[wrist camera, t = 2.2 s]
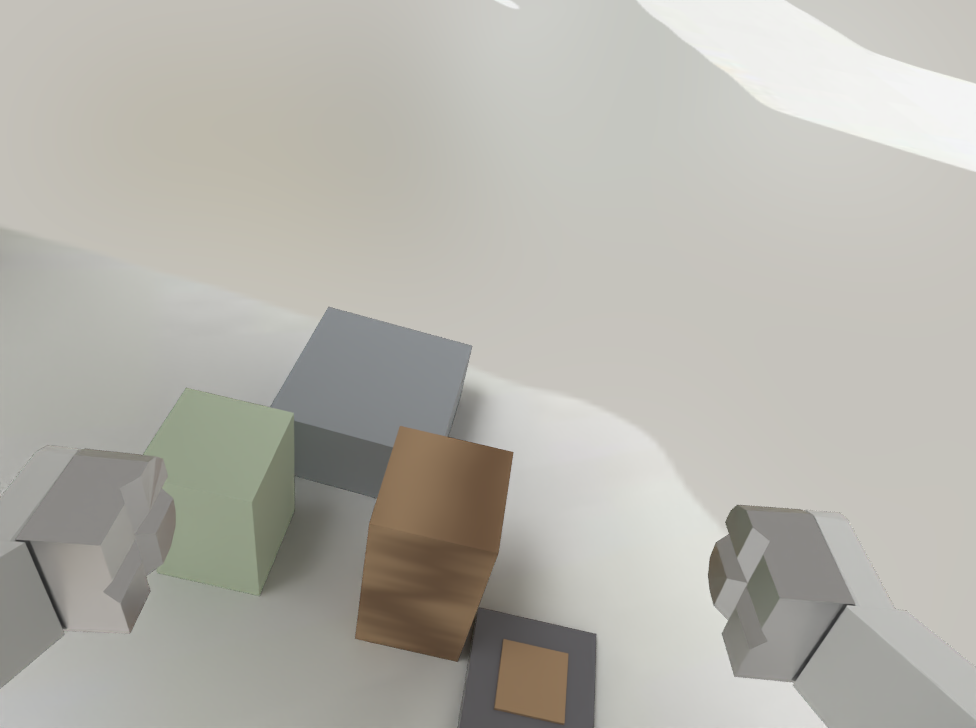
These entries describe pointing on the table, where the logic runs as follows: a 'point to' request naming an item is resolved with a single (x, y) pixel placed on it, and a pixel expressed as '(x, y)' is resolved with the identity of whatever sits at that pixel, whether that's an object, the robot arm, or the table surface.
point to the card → (528, 674)
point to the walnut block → (432, 542)
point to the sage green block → (226, 488)
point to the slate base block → (367, 396)
